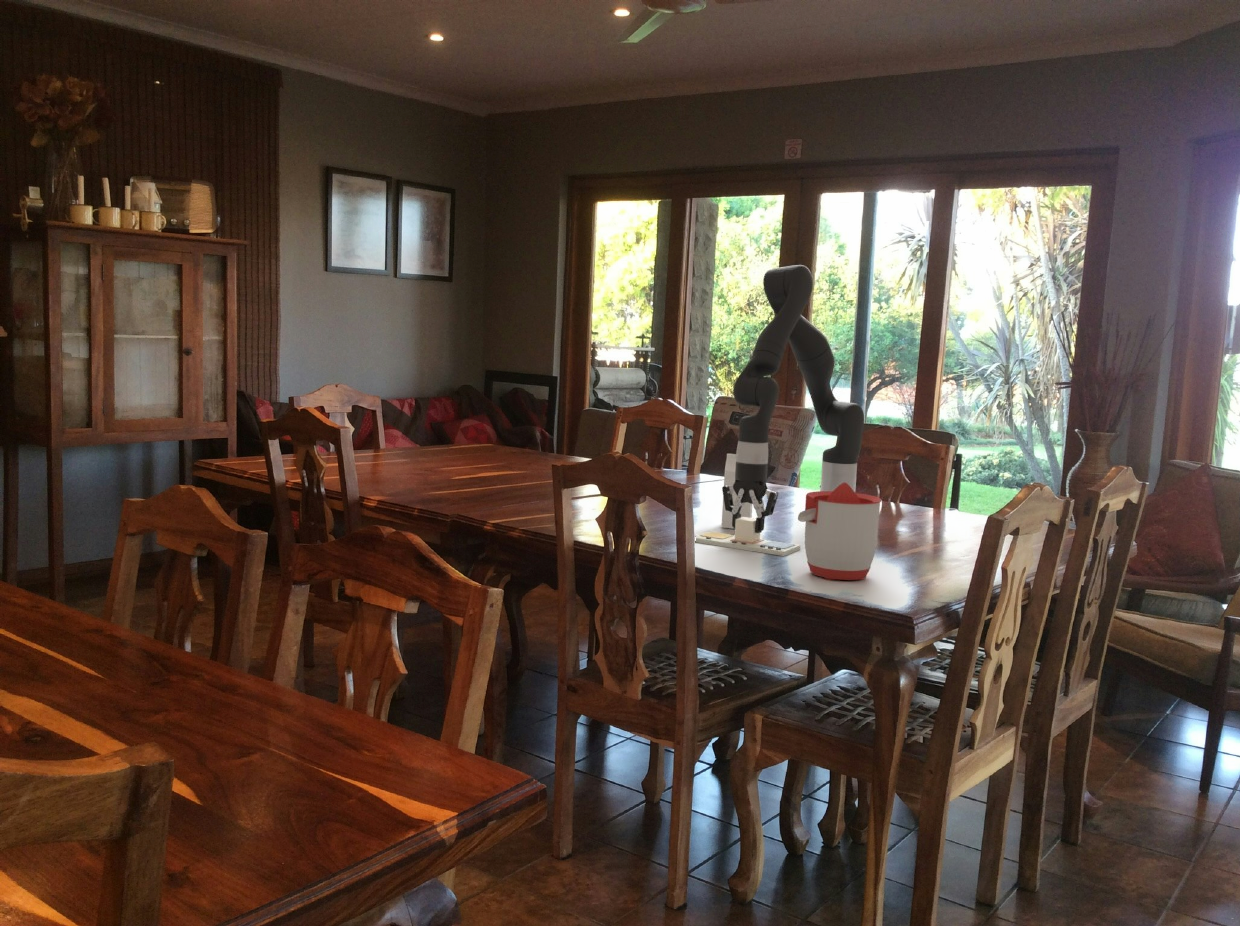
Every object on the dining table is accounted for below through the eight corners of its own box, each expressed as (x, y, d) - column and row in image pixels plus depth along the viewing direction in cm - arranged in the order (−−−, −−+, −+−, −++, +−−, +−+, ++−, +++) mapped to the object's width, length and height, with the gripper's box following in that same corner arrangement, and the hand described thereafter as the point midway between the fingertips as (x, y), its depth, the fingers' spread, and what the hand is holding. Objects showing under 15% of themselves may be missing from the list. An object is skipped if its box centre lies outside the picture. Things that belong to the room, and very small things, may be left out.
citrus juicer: (782, 567, 233) (788, 476, 230) (855, 566, 237) (862, 477, 234) (810, 584, 218) (817, 487, 215) (888, 583, 222) (896, 488, 219)
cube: (742, 537, 259) (743, 516, 258) (759, 539, 257) (760, 519, 256) (734, 539, 255) (735, 519, 254) (752, 542, 253) (753, 521, 252)
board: (709, 535, 265) (709, 530, 265) (800, 549, 253) (800, 544, 253) (690, 541, 257) (690, 535, 257) (783, 556, 245) (784, 550, 245)
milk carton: (748, 530, 275) (753, 457, 273) (721, 528, 276) (725, 455, 274) (751, 525, 282) (755, 454, 280) (724, 523, 283) (728, 452, 281)
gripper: (786, 462, 253) (781, 533, 255) (731, 456, 260) (727, 525, 262) (773, 465, 247) (769, 537, 249) (717, 458, 254) (713, 529, 256)
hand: (747, 530), depth 256 cm, fingers open, 5 cm apart
